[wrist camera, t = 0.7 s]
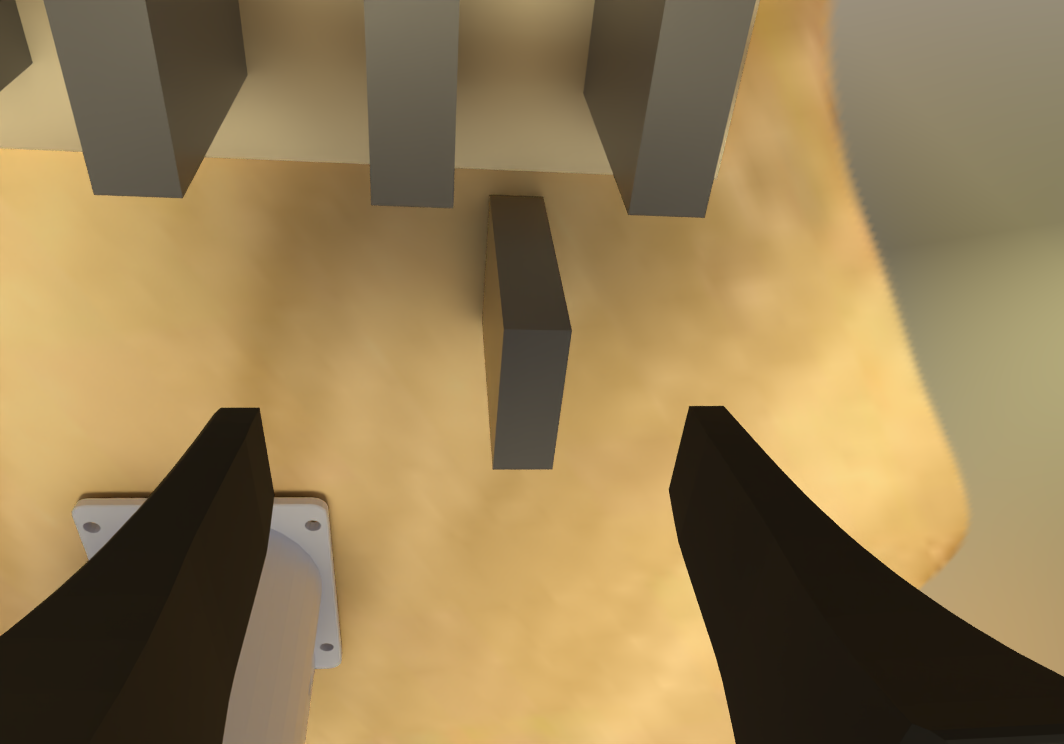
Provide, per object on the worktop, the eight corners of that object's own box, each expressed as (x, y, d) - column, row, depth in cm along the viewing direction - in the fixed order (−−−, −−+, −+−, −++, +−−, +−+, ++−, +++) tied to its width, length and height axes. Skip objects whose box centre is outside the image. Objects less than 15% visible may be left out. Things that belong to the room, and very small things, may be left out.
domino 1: (247, 75, 19) (182, 198, 14) (182, 71, 18) (93, 194, 14) (221, -133, 16) (131, -69, 11) (146, -139, 16) (23, -76, 11)
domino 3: (530, 322, 24) (552, 469, 20) (482, 321, 24) (492, 469, 19) (543, 197, 22) (571, 330, 17) (489, 195, 22) (503, 329, 17)
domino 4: (641, 96, 20) (704, 218, 15) (583, 93, 19) (628, 215, 15) (673, -95, 17) (761, -22, 12) (607, -100, 17) (670, -29, 12)
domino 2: (450, 86, 19) (453, 208, 14) (388, 82, 19) (371, 205, 14) (455, -113, 17) (461, -45, 12) (384, -119, 16) (361, -52, 12)
